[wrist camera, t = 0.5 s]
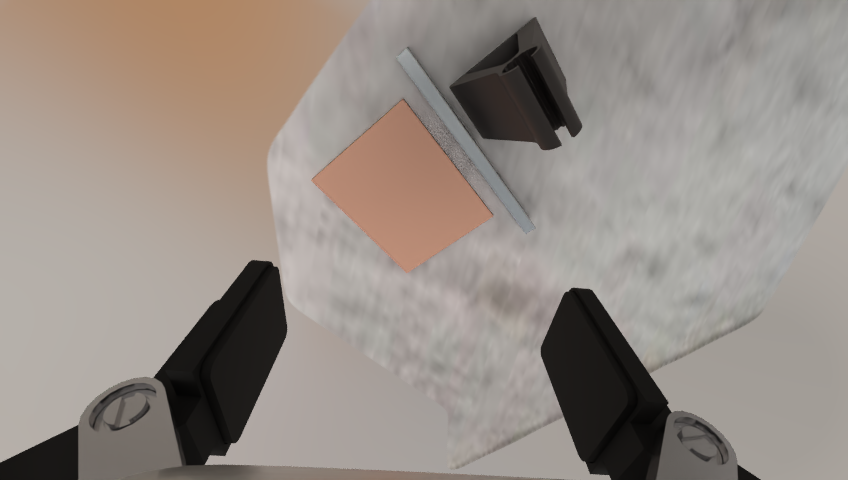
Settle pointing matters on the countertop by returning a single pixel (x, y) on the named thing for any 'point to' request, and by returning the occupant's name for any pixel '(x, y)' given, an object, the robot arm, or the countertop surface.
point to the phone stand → (519, 92)
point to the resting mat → (403, 189)
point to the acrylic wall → (463, 137)
